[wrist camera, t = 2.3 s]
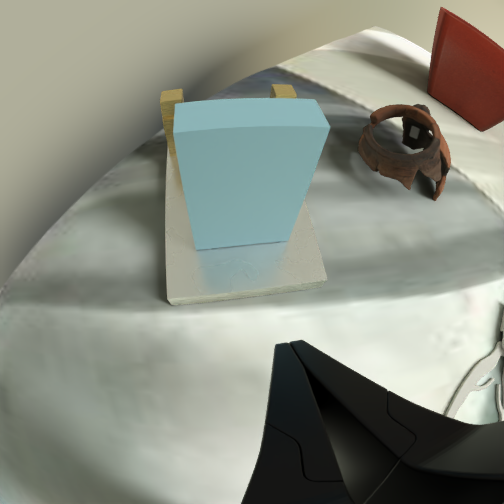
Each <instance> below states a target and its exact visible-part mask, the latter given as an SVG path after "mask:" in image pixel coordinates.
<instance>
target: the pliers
mask: <svg viewBox="0 0 504 504" xmlns="http://www.w3.org/2000/svg"><path fill="white" fill-rule="evenodd" d="M500 331H501V332H503V339H502V341H500V342H497V344H496V346H495V349H494V350H493V351H492V352H491V354H490V355H489V356H487V357H486V358H484V359H482V360H480V361H479V362H478V363H477V364H476V365H475V366H474V367H473V368H472V370H471V371H470V372H469V373H468V375H467V376H466V378H465V379H464V381H463V382H462V384H461V385H460V387H459V388H458V390H457V392H456V394H455V395H454V397H453V399H452V401H451V403H450V405H449V407H448V409H447V411H446V413H445V416H447V417H450V418H454V417H455V415H456V413H457V412H458V410H459V408H460V407H461V405H462V404H463V402H464V400H465V399H466V397H467V396H468V394H469V393H470V392H472V391H480V390H483V389H485V388H487V387H488V386H489V385H490V384H491V383H492V382H493V381H494V378H491V379H490V380H489V381H488V382H487V383H486V384H484V385H483V386H477V385H475V384H476V383H477V382H478V381H479V380H480V378H482V377H483V376H484V375H486V374H487V373H488V372H490V371H491V370H493V369H494V368H495V366H496V364H497V362H498V360H499V358H500V356H503V357H504V310H503V316H502V322H501V328H500ZM502 388H503V403H502V406H501V400H500V384H498V385H497V386H496V403H497V409H498V412H499V418H500V420H499V421H504V369H503V375H502Z"/></svg>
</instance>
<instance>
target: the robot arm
mask: <svg viewBox="0 0 504 504" xmlns="http://www.w3.org/2000/svg"><path fill="white" fill-rule="evenodd" d="M241 504H504V421H499V422H495V423H490V424H484V425H474V424H468V423H464V422H461V421H458V420H456V419H453V418H450V417H447V416H444V415H442V414H439V413H436V412H434V411H431V410H429V409H426V408H424V407H422V406H419V405H417V404H414V403H412V402H410V401H408V400H406V399H404V398H402V397H400V396H398V395H397V394H395V393H393V392H391V391H388V392H387V389H385V388H384V387H382V386H380V385H378V384H376V383H375V382H373V381H371V380H369V379H368V378H366V377H364V376H362V375H361V374H359V373H357V372H355V371H354V370H352V369H350V368H348V367H347V366H345V365H343V364H342V363H340V362H338V361H337V360H335V359H333V358H332V357H330V356H328V355H327V354H325V353H323V352H322V351H320V350H318V349H317V348H315V347H313V346H312V345H310V344H308V343H307V342H305V341H303V340H298V341H292V342H290V343H280V344H276V345H275V349H274V357H273V366H272V374H271V382H270V389H269V397H268V404H267V411H266V419H265V425H264V431H263V438H262V443H261V448H260V452H259V455H258V459H257V462H256V465H255V468H254V471H253V474H252V476H251V479H250V482H249V484H248V487H247V490H246V492H245V495H244V497H243V500H242V502H241Z"/></svg>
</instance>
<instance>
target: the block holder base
mask: <svg viewBox="0 0 504 504" xmlns="http://www.w3.org/2000/svg"><path fill="white" fill-rule="evenodd" d="M296 96H297V95H296V93H295V91H294V89H293V87H292V85H279V84H272V87H271V94H270V98H292V99H296ZM177 103H184V100H183V90H182V89H176V90H168V91H162V93H161V99H160V105H161V110H162V116H163V125H164V130H165V136H166V138H167V143H168V150H167V169H166V201H165V249H166V281H167V299H168V301H169V302H170V303H171V305H172V306H175V305H185V304H195V303H205V302H214V301H223V300H231V299H240V298H248V297H256V296H264V295H271V294H279V293H286V292H293V291H300V290H307V289H313V288H320V287H321V286H322V285H323V284H324V283H325V282H326V281H327V276H326V273H325V269H324V265H323V261H322V257H321V254H320V250H319V247H318V243H317V239H316V236H315V232H314V229H313V225H312V222H311V219H310V215H309V212H308V209H307V205H306V202H305V199H304V201H303V204H302V206H301V209H300V212H299V214H298V217H297V219H296V222H295V225H294V227H293V230H292V232H291V235H290V238H289V240H288V241H279V242H269V243H259V244H250V245H240V246H231V247H221V248H212V249H202V250H196V248H195V243H194V239H193V234H192V230H191V225H190V220H189V216H188V211H187V206H186V201H185V196H184V191H183V186H182V180H181V175H180V170H179V164H178V158H177V153H176V147H175V141H174V135H173V128H174V113H175V104H177Z"/></svg>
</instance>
